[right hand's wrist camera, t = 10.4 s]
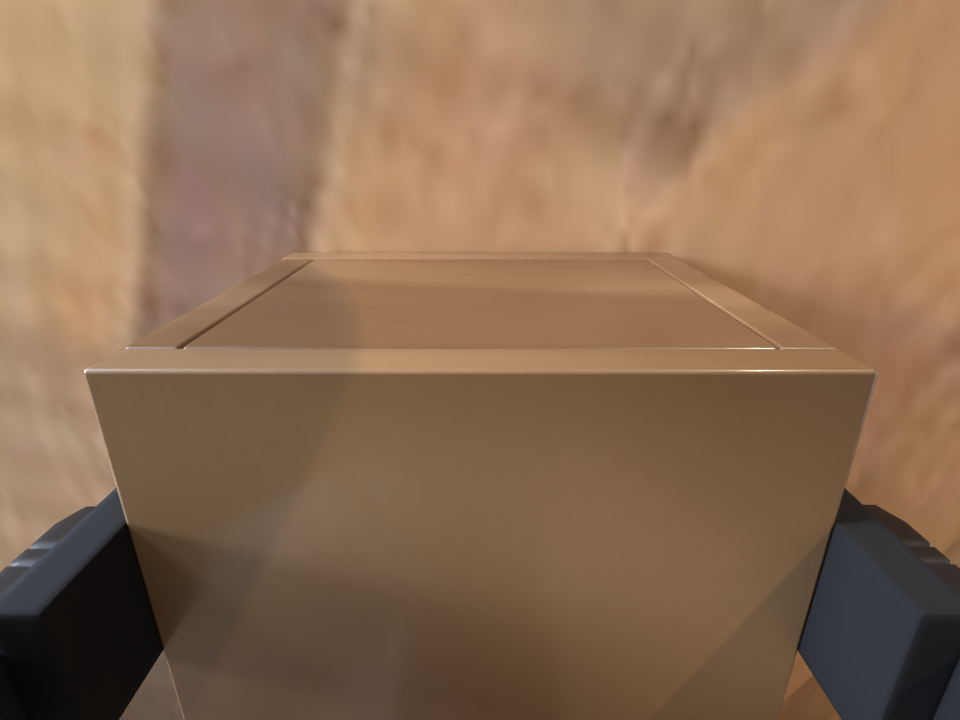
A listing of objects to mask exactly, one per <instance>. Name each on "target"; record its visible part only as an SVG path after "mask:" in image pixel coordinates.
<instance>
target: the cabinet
mask: <svg viewBox="0 0 960 720" xmlns="http://www.w3.org/2000/svg"><path fill="white" fill-rule="evenodd" d="M877 375H878V374H877V370H876V369H874V368H872V367H871V366H869V365H867V364H865V363H863V362H862V361H860V360H858V359H856V358H854V357H853V356H851V355H849V354H847V353H845V352H844V351H842V350H839V349H837V347H835V346H833V345H831V344H830V343H828V342H826V341H824V340H822V339H821V338H819V337H817V336H815V335H813V334H812V333H810V332H808V331H806V330H804V329H803V328H801V327H799V326H797V325H795V324H794V323H792V322H790V321H788V320H786V319H785V318H783V317H781V316H779V315H777V314H776V313H774V312H772V311H770V310H768V309H767V308H765V307H763V306H761V305H759V304H758V303H756V302H754V301H752V300H750V299H749V298H747V297H745V296H743V295H741V294H740V293H738V292H736V291H734V290H732V289H731V288H729V287H727V286H725V285H723V284H722V283H720V282H718V281H716V280H714V279H713V278H711V277H709V276H707V275H705V274H704V273H702V272H700V271H698V270H696V269H695V268H693V267H691V266H689V265H687V264H686V263H684V262H682V261H680V260H678V259H677V258H675V257H674V256H672V255H670V254H668V253H293V254H291V255H289V256H287V257H285V258H284V259H283V260H281V261H279V262H278V263H276V264H274V265H272V266H270V267H269V268H267V269H265V270H263V271H261V272H260V273H258V274H256V275H254V276H252V277H251V278H249V279H247V280H245V281H243V282H242V283H240V284H238V285H236V286H234V287H233V288H231V289H229V290H227V291H225V292H224V293H222V294H220V295H218V296H216V297H215V298H213V299H211V300H209V301H207V302H206V303H204V304H202V305H200V306H198V307H197V308H195V309H193V310H191V311H189V312H188V313H186V314H184V315H182V316H180V317H179V318H177V319H175V320H173V321H171V322H170V323H168V324H166V325H164V326H163V327H161V328H159V329H157V330H155V331H154V332H152V333H150V334H148V335H146V336H145V337H143V338H141V339H139V340H137V341H136V342H134V343H132V344H130V345H128V346H127V347H126V348H125V349H121V350H119V351H117V352H115V353H113V354H111V355H110V356H108V357H106V358H104V359H102V360H101V361H99V362H97V363H95V364H93V365H91V366H90V367H88V368H86V369H85V370H84V377H85V380H86V384H87V387H88V391H89V394H90V398H91V401H92V405H93V408H94V412H95V415H96V419H97V422H98V425H99V429H100V432H101V436H102V439H103V443H104V446H105V450H106V453H107V457H108V460H109V463H110V467H111V470H112V474H113V477H114V481H115V484H116V488H117V491H118V495H119V498H120V502H121V505H122V508H123V512H124V515H125V519H126V522H127V526H128V529H129V533H130V536H131V540H132V543H133V546H134V550H135V553H136V557H137V560H138V564H139V567H140V571H141V574H142V578H143V581H144V584H145V588H146V591H147V595H148V598H149V602H150V605H151V609H152V612H153V616H154V619H155V623H156V626H157V629H158V633H159V636H160V640H161V643H162V647H163V650H164V654H165V657H166V661H167V664H168V667H169V671H170V674H171V678H172V681H173V685H174V688H175V692H176V695H177V699H178V702H179V705H180V709H181V712H182V716H183V719H184V720H777V719H778V715H779V712H780V708H781V705H782V701H783V698H784V695H785V691H786V688H787V684H788V681H789V677H790V674H791V670H792V667H793V664H794V660H795V657H796V653H797V650H798V646H799V643H800V640H801V636H802V633H803V629H804V626H805V622H806V619H807V615H808V612H809V609H810V605H811V602H812V598H813V595H814V591H815V588H816V585H817V581H818V578H819V574H820V571H821V567H822V564H823V561H824V557H825V554H826V550H827V547H828V543H829V540H830V536H831V533H832V530H833V526H834V523H835V519H836V516H837V512H838V509H839V506H840V502H841V499H842V495H843V492H844V488H845V485H846V481H847V478H848V475H849V471H850V468H851V464H852V461H853V457H854V454H855V451H856V447H857V444H858V440H859V437H860V433H861V430H862V426H863V423H864V420H865V416H866V413H867V409H868V406H869V402H870V399H871V396H872V392H873V389H874V385H875V382H876V378H877Z"/></svg>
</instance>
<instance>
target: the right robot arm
mask: <svg viewBox="0 0 960 720" xmlns="http://www.w3.org/2000/svg"><path fill="white" fill-rule="evenodd" d="M949 561H950V560H949V559H947V558H946V557H945V556H944V555H943V554H942V553H941V552H939V551H938V550H937V549H936V548H935V547H930V543H929V542H928V541H927V540H926V539H924V538H923V537H922V536H921V535H920V534H919V533H918V532H916V531H915V530H914V529H913V528H912V527H911V526H910V525H908V524H907V523H906V522H904V521H903V520H901V519H899V518H897V517H896V516H894V515H892V514H890V513H888V512H887V511H885V510H883V509H881V508H880V507H878V506H876V505H862V504H861V503H860V502H859V501H858V500H857V499H856V498H855V497H854V496H853V495H851V494H850V493H849V492H848V491H847V490H846V489H845V488H844V492H843V495H842V499H841V502H840V506H839V509H838V512H837V516H836V519H835V523H834V526H833V530H832V533H831V536H830V540H829V543H828V547H827V550H826V554H825V557H824V561H823V564H822V567H821V571H820V574H819V578H818V581H817V585H816V588H815V591H814V595H813V598H812V602H811V605H810V609H809V612H808V615H807V619H806V622H805V626H804V629H803V633H802V636H801V640H800V643H799V646H798V651H799V653H800V655H801V656H802V658H803V659H804V661H805V662H806V664H807V666H808V667H809V669H810V670H811V672H812V673H813V675H814V677H815V678H816V680H817V681H818V683H819V685H820V686H821V688H822V689H823V691H824V692H825V694H826V696H827V697H828V699H829V700H830V702H831V703H832V705H833V707H834V708H835V710H836V711H837V713H838V714H839V716H840V718H841V719H842V720H960V569H959V568H958V567H957V566H955V565H951V564H950V562H949ZM162 651H163V647H162V643H161V640H160V636H159V633H158V629H157V626H156V623H155V619H154V616H153V612H152V609H151V605H150V602H149V598H148V595H147V591H146V588H145V584H144V581H143V578H142V574H141V571H140V567H139V564H138V560H137V557H136V553H135V550H134V546H133V543H132V540H131V536H130V533H129V529H128V526H127V522H126V519H125V515H124V512H123V508H122V505H121V502H120V498H119V495H118V491H117V488H116V489H115V490H113V491H112V492H111V493H110V494H109V495H108V496H107V497H106V498H105V499H104V500H103V501H102V502H100V503H99V504H98V505H97V506H96V507H85V508H83V509H81V510H79V511H78V512H76V513H74V514H72V515H71V516H69V517H67V518H65V519H64V520H62V521H60V522H58V523H57V524H55V525H54V526H53V527H52V528H50V529H49V530H48V531H47V532H46V533H45V534H44V535H42V536H41V537H40V538H39V539H38V540H37V541H36V542H35V543H33V544H32V548H31V549H27V550H25V551H24V552H23V553H22V554H21V555H20V556H19V557H17V558H16V559H15V560H14V561H13V562H12V566H11V567H6V568H5V569H4V570H3V571H2V572H0V720H119V718H120V717H121V715H122V714H123V712H124V711H125V709H126V707H127V706H128V704H129V703H130V701H131V700H132V698H133V696H134V695H135V693H136V692H137V690H138V689H139V687H140V685H141V684H142V682H143V681H144V679H145V678H146V676H147V674H148V673H149V671H150V670H151V668H152V667H153V665H154V663H155V662H156V660H157V659H158V657H159V655H160V654H161V652H162Z"/></svg>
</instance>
